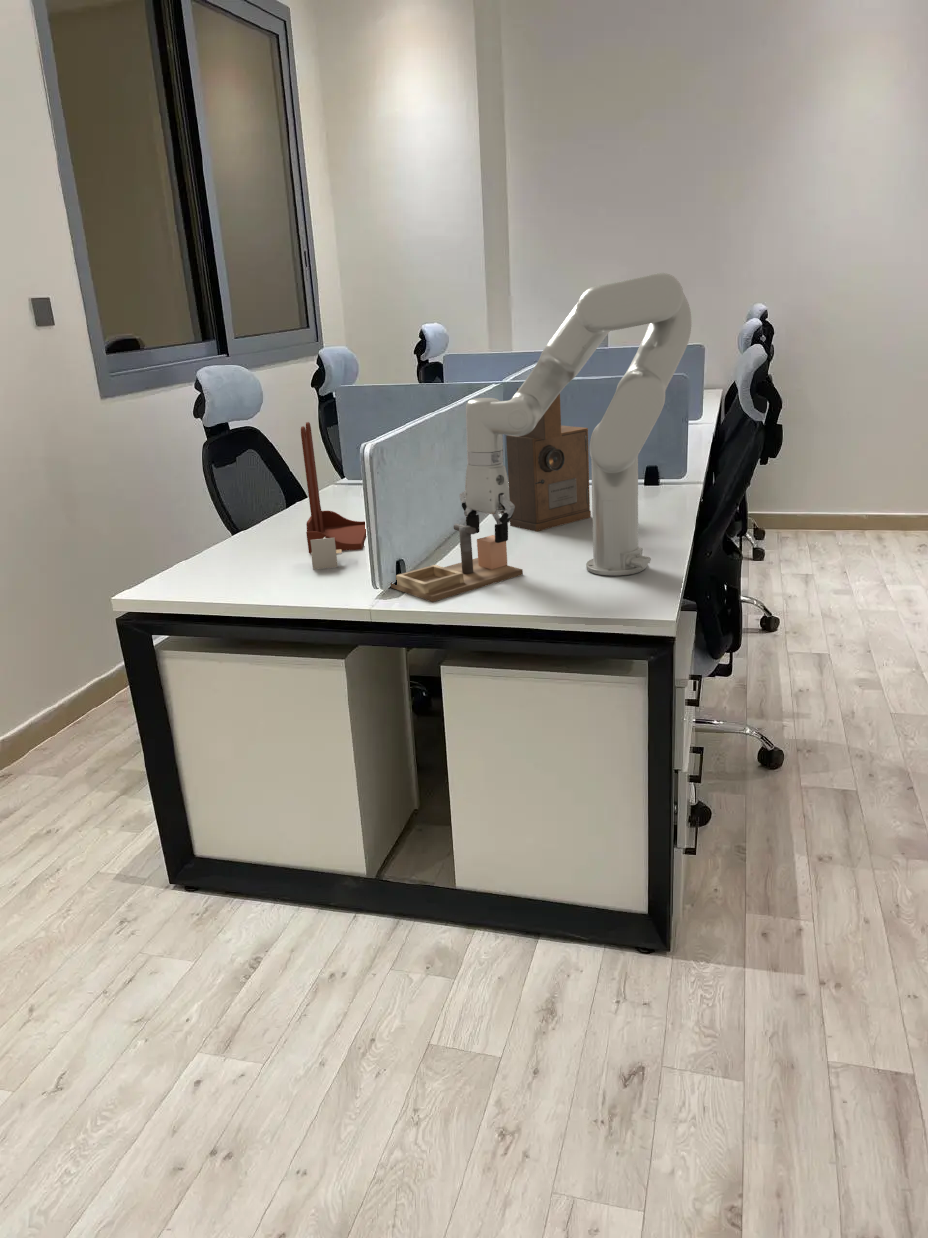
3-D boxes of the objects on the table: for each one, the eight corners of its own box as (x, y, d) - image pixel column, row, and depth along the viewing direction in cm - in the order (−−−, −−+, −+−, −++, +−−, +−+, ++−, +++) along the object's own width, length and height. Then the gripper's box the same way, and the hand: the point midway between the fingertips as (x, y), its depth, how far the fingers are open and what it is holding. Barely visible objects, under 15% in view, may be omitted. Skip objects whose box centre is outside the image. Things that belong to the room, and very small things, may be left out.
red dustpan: (361, 549, 230) (348, 427, 220) (309, 553, 230) (293, 431, 220) (370, 527, 252) (358, 414, 243) (322, 530, 253) (308, 418, 243)
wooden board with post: (522, 574, 199) (520, 522, 195) (432, 602, 186) (427, 546, 182) (479, 562, 211) (475, 512, 207) (390, 587, 197) (385, 534, 193)
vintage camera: (546, 534, 231) (540, 389, 220) (510, 525, 242) (502, 387, 230) (601, 519, 242) (598, 381, 230) (564, 511, 252) (559, 379, 241)
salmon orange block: (507, 564, 203) (506, 538, 201) (491, 569, 200) (489, 542, 198) (494, 561, 206) (492, 534, 204) (478, 565, 204) (476, 539, 202)
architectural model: (313, 567, 218) (309, 536, 216) (343, 564, 219) (339, 533, 217) (313, 571, 215) (309, 540, 213) (343, 568, 216) (339, 537, 213)
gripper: (525, 461, 191) (526, 541, 197) (473, 451, 204) (475, 527, 210) (497, 465, 187) (499, 548, 193) (446, 456, 200) (449, 533, 206)
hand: (487, 537), depth 201 cm, fingers open, 9 cm apart
